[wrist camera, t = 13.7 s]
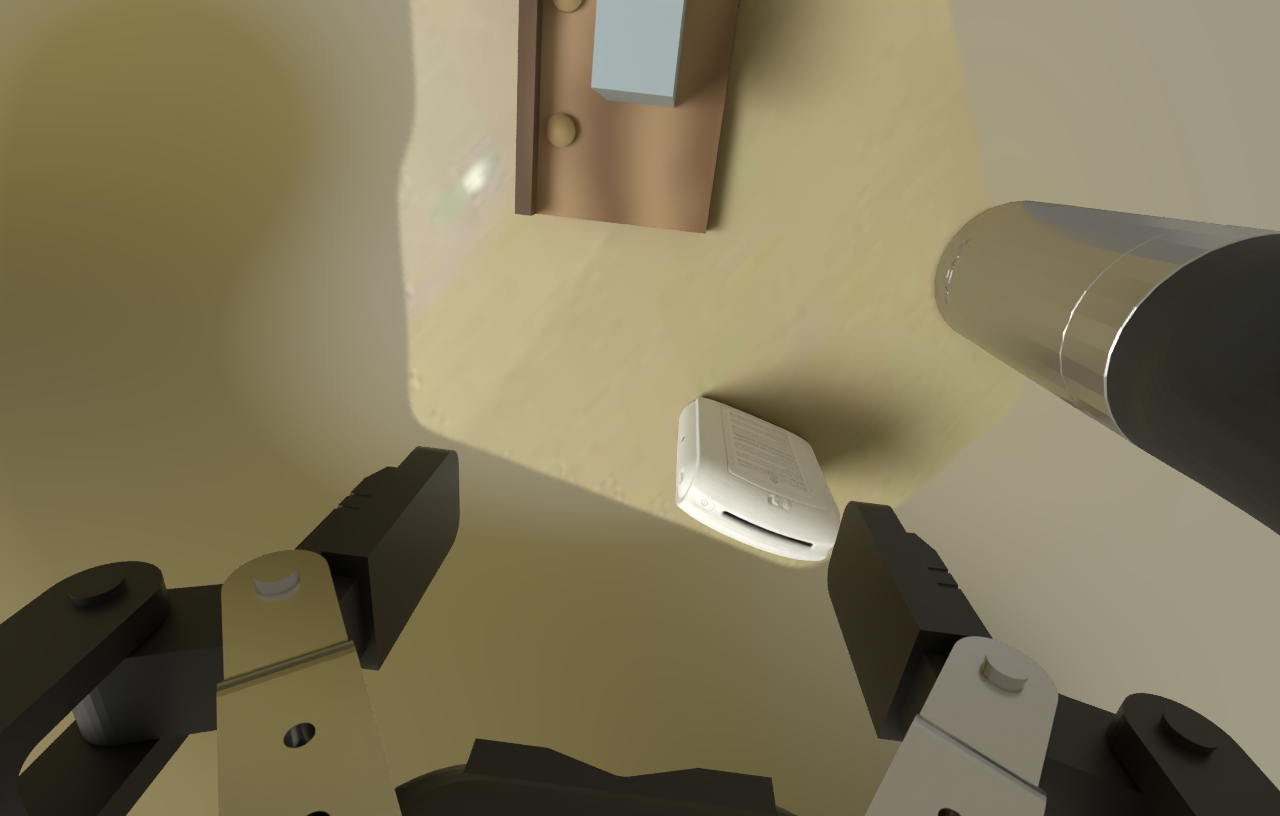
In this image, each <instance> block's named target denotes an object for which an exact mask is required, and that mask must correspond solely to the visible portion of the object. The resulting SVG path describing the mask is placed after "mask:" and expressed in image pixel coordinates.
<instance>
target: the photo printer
mask: <svg viewBox="0 0 1280 816" xmlns="http://www.w3.org/2000/svg"><path fill="white" fill-rule="evenodd" d="M676 503H677V505H678V506H679V507H680V508H681V509H682V510H683V511H685V512H686V513H687V514H689V515H690V516H692V517H693V518H695V519H696V520H698V521H700V522H701V523H703V524H705V525H707V526H709V527H710V528H712V529H714V530H716V531H718V532H720V533H722V534H725V535H727V536H729V537H731V538H733V539H736V540H738V541H740V542H743V543H745V544H748V545H750V546H753V547H755V548H758V549H761V550H764V551H767V552H770V553H773V554H777V555H780V556H784V557H789V558H793V559H798V560H807V561H819V560H822V559H824V558H826V556H827V554H828V552H829V550H830V548H831V547H832V546H833V545H835V541H836V538H837V534H838V531H839V527H840V514H839V510H838V508H837V506H836V503H835V501H834V499H833V496H832V494H831V492H830V489H829V487H828V485H827V482H826V480H825V478H824V475H823V473H822V471H821V468H820V466H819V464H818V461H817V459H816V457H815V454H814V452H813V449H812V447H811V446H810V444H809V443H808V442H806V441H805V440H803V439H802V438H800V437H799V436H797V435H795V434H793V433H791V432H789V431H787V430H785V429H782V428H780V427H778V426H776V425H773V424H771V423H769V422H767V421H764V420H762V419H759V418H757V417H755V416H752V415H750V414H748V413H745V412H743V411H740V410H738V409H735V408H733V407H731V406H728V405H725V404H723V403H720V402H717V401H714V400H711V399H707V398H703V397H698V398H697V400H695V401H693V402H691V403H690V404H688V405H687V406H686V407H685V408H684V410H683V411H682V413H681V416H680V420H679V436H678V449H677V479H676Z"/></svg>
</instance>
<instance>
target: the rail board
mask: <svg viewBox="0 0 1280 816" xmlns="http://www.w3.org/2000/svg"><path fill="white" fill-rule="evenodd" d="M596 5H597V0H519V32H518V83H517V135H516V186H515V214H522V215H530V216H531V215H534V214H544V215H552V216H561V217H569V218H578V219H586V220H595V221H603V222H612V223H620V224H629V225H638V226H646V227H655V228H663V229H672V230H680V231H689V232H697V233H706V228H707V221H708V214H709V207H710V201H711V194H712V187H713V180H714V173H715V166H716V159H717V152H718V145H719V138H720V132H721V125H722V118H723V111H724V104H725V97H726V90H727V83H728V76H729V69H730V62H731V56H732V49H733V42H734V35H735V28H736V21H737V14H738V7H739V0H687V3H686V12H685V20H684V29H683V37H682V46H681V55H680V63H679V72H678V80H677V89H676V98H675V106H674V108H670V107H662V106H653V105H644V104H636V103H627V102H618V101H610V100H607V99H605V98H604V97H603V96H602V95H600V94H599V93H598V92H596V91H595V90H594V89H593V88H591V82H592V67H593V51H594V36H595V21H596Z"/></svg>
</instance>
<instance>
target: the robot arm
mask: <svg viewBox="0 0 1280 816" xmlns="http://www.w3.org/2000/svg"><path fill="white" fill-rule="evenodd" d="M935 297H936V301H937V305H938V309H939V311H940V313H941V314H942V316H943V318H944V320H945V321H946V322H947V323H948V324H949V325H950V326H951V327H952V328H953V330H955V331H956V332H958V333H959V334H961V335H962V336H964V337H966V338H967V339H969V340H970V341H972V342H973V343H975V344H976V345H978V346H979V347H981V348H982V349H984V350H985V351H987V352H988V353H990V354H991V355H993V356H995V357H996V358H998V359H999V360H1001V361H1002V362H1004V363H1006V364H1007V365H1009V366H1010V367H1012V368H1014V369H1015V370H1017V371H1018V372H1020V373H1021V374H1023V375H1025V376H1026V377H1028V378H1029V379H1031V380H1032V381H1034V382H1036V383H1037V384H1039V385H1040V386H1042V387H1043V388H1045V389H1047V390H1048V391H1050V392H1052V393H1053V394H1055V395H1056V396H1058V397H1059V398H1061V399H1062V400H1064V401H1066V402H1067V403H1069V404H1070V405H1072V406H1073V407H1075V408H1077V409H1078V410H1080V411H1081V412H1083V413H1085V414H1086V415H1088V416H1090V417H1091V418H1093V419H1095V420H1096V421H1098V422H1099V423H1101V424H1102V425H1104V426H1106V427H1107V428H1109V429H1110V430H1112V431H1114V432H1115V433H1117V434H1118V435H1120V436H1121V437H1123V438H1125V439H1126V440H1128V441H1130V442H1131V443H1133V444H1134V445H1136V446H1138V447H1139V448H1141V449H1143V450H1144V451H1146V452H1147V453H1149V454H1151V455H1152V456H1154V457H1156V458H1157V459H1159V460H1161V461H1162V462H1164V463H1166V464H1167V465H1169V466H1171V467H1172V468H1174V469H1176V470H1177V471H1179V472H1181V473H1183V474H1184V475H1186V476H1188V477H1189V478H1191V479H1193V480H1195V481H1197V482H1198V483H1200V484H1201V485H1203V486H1205V487H1206V488H1208V489H1210V490H1211V491H1213V492H1214V493H1216V494H1218V495H1219V496H1221V497H1222V498H1224V499H1226V500H1227V501H1229V502H1230V503H1232V504H1234V505H1235V506H1237V507H1238V508H1240V509H1241V510H1243V511H1245V512H1246V513H1248V514H1249V515H1251V516H1252V517H1254V518H1255V519H1257V520H1258V521H1260V522H1261V523H1263V524H1264V525H1266V526H1267V527H1269V528H1270V529H1271V530H1273V531H1274V532H1276V533H1277V534H1279V535H1280V231H1273V230H1265V229H1257V228H1249V227H1241V226H1232V225H1221V224H1213V223H1205V222H1197V221H1188V220H1180V219H1172V218H1164V217H1156V216H1147V215H1140V214H1132V213H1124V212H1116V211H1107V210H1099V209H1091V208H1083V207H1076V206H1069V205H1061V204H1052V203H1043V202H1034V201H1018V202H1010V203H1007V204H1003V205H999V206H996V207H993V208H991V209H989V210H987V211H986V212H984V213H982V214H980V215H978V216H977V217H975V218H974V219H973V220H971V221H970V222H969V223H967V224H966V225H965V226H964V227H963V228H962V229H961V230H960V231H959V232H958V233H957V234H956V235H955V236H954V237H953V239H952V240H951V242H950V243H949V245H948V246H947V248H946V249H945V251H944V253H943V255H942V258H941V260H940V262H939V265H938V268H937V273H936V278H935ZM459 508H460V507H459V462H458V455H457V453H456V452H455V451H454V450H446V449H437V448H430V447H422V446H418V447H416V448H415V449H414V450H413V451H412V452H411V453H410V454H409V455H408V457H407V458H406V459H405V460H404V461H403V462H402V463H401V464H400V465H399V466H398V467H397V468H396V467H386V468H384V469H382V470H380V471H378V472H376V473H374V474H372V475H370V476H368V477H366V478H364V479H363V481H361V483H360V484H359V485H358V486H357V487H356V488H355V489H354V490H353V491H352V492H351V493H350V496H347V497H346V498H345V499H344V500H343V501H342V502H341V503H340V504H339V505H338V508H337V509H334V510H333V511H332V512H331V513H330V514H329V515H328V516H327V517H326V518H325V519H324V520H323V521H322V522H321V523H320V524H319V525H318V526H317V527H316V528H315V529H314V530H313V531H312V532H311V533H310V534H309V535H308V536H307V537H306V538H305V539H304V540H303V541H302V542H301V543H300V544H299V545H298V546H297V547H296V548H295V549H294V550H282V551H276V552H272V553H268V554H264V555H262V556H259V557H257V558H254V559H252V560H250V561H248V562H246V563H244V564H243V565H241V566H239V567H238V568H237V569H235V570H234V571H233V572H232V573H231V574H230V575H229V576H228V577H227V579H226V580H225V581H224V583H223V584H218V585H207V586H197V587H186V588H177V589H176V588H175V589H166V586H165V582H164V579H163V575H162V572H161V570H160V569H159V568H158V567H156V566H154V565H153V564H149V563H145V562H139V561H127V562H116V563H110V564H105V565H101V566H97V567H94V568H90V569H87V570H85V571H82V572H79V573H77V574H74V575H72V576H70V577H68V578H66V579H64V580H62V581H60V582H59V583H57V584H55V585H54V586H52V587H51V588H49V589H48V590H47V591H45V592H44V593H42V594H41V595H40V596H38V597H37V598H36V599H34V600H33V601H32V602H30V603H29V604H28V605H26V606H25V607H23V608H22V609H21V610H19V611H18V612H17V613H15V614H14V615H12V616H11V617H10V618H8V619H7V620H6V621H4V622H3V623H2V624H0V816H126V815H127V813H128V812H129V811H130V810H131V808H132V807H133V806H134V805H135V803H136V802H137V801H138V799H139V798H140V797H141V796H142V794H143V793H144V792H145V790H146V789H147V788H148V787H149V785H150V784H151V783H152V782H153V780H154V779H155V778H156V776H157V775H158V774H159V773H160V771H161V770H162V769H163V767H164V766H165V765H166V763H167V762H168V761H169V760H170V758H171V757H172V756H173V754H174V753H175V752H176V751H177V749H178V748H179V747H180V746H181V744H182V743H183V742H184V741H185V739H186V738H187V737H188V735H189V734H194V733H200V732H207V731H213V730H217V747H218V748H217V751H218V798H219V799H218V800H219V801H218V802H219V816H797V815H795V814H793V813H791V812H789V811H787V810H785V809H783V808H781V807H778V806H776V805H775V799H774V792H773V785H772V778H770V777H762V776H754V775H747V774H739V773H731V772H724V771H717V770H709V769H702V768H695V769H687V770H679V771H671V772H663V773H655V774H647V775H639V776H631V777H621V776H616V775H613V774H611V773H608V772H606V771H603V770H601V769H598V768H596V767H594V766H591V765H588V764H586V763H584V762H581V761H579V760H576V759H574V758H571V757H569V756H566V755H564V754H562V753H559V752H557V751H554V750H552V749H549V748H544V747H536V746H529V745H521V744H514V743H506V742H499V741H491V740H484V739H476V740H475V742H474V745H473V748H472V751H471V754H470V757H469V760H468V762H467V764H461V765H455V766H450V767H446V768H442V769H438V770H435V771H432V772H429V773H427V774H424V775H421V776H418V777H416V778H414V779H412V780H410V781H408V782H406V783H404V784H402V785H400V786H398V787H396V788H395V789H394V785H393V782H392V778H391V774H390V771H389V767H388V763H387V760H386V756H385V752H384V749H383V745H382V742H381V738H380V734H379V731H378V727H377V724H376V720H375V717H374V713H373V710H372V705H371V702H370V698H369V695H368V691H367V687H366V684H365V680H364V677H363V673H362V669H361V668H363V669H371V670H379V669H380V667H381V666H382V664H383V662H384V661H385V659H386V657H387V656H388V654H389V652H390V651H391V649H392V647H393V646H394V644H395V642H396V640H397V639H398V637H399V635H400V633H401V632H402V630H403V629H404V627H405V625H406V623H407V622H408V620H409V618H410V617H411V615H412V613H413V612H414V610H415V608H416V607H417V605H418V603H419V601H420V600H421V598H422V596H423V595H424V593H425V591H426V590H427V588H428V586H429V584H430V583H431V581H432V579H433V578H434V576H435V574H436V572H437V571H438V569H439V568H440V566H441V564H442V562H443V561H444V559H445V557H446V556H447V554H448V552H449V551H450V549H451V547H452V545H453V543H454V541H455V538H456V535H457V531H458V526H459V517H460V511H459V510H460V509H459ZM827 581H828V591H829V595H830V598H831V601H832V604H833V607H834V610H835V613H836V616H837V619H838V622H839V625H840V628H841V630H842V633H843V637H844V640H845V643H846V645H847V648H848V651H849V654H850V657H851V660H852V663H853V666H854V669H855V672H856V675H857V678H858V681H859V684H860V687H861V690H862V693H863V696H864V698H865V702H866V704H867V707H868V710H869V713H870V716H871V719H872V722H873V725H874V728H875V731H876V734H877V737H878V738H880V739H888V740H895V741H903V742H902V744H901V746H900V748H899V750H898V752H897V754H896V756H895V758H894V760H893V761H892V764H891V765H890V767H889V769H888V771H887V773H886V775H885V777H884V779H883V781H882V783H881V785H880V787H879V789H878V791H877V793H876V795H875V797H874V799H873V801H872V803H871V805H870V807H869V809H868V811H867V813H866V815H865V816H1280V791H1279V790H1278V789H1277V788H1276V786H1274V784H1273V783H1272V782H1271V781H1270V780H1269V779H1268V777H1267V776H1266V775H1265V774H1264V773H1263V772H1262V771H1261V770H1260V768H1259V767H1258V766H1257V765H1256V764H1255V763H1254V762H1253V761H1252V759H1251V758H1250V757H1249V756H1248V755H1247V754H1246V753H1245V752H1244V751H1243V749H1242V748H1241V747H1240V746H1239V745H1238V744H1237V743H1236V742H1235V741H1234V740H1233V739H1232V738H1231V737H1230V736H1229V735H1228V734H1226V733H1225V732H1224V731H1223V730H1222V729H1221V728H1219V727H1218V726H1216V725H1215V724H1214V723H1213V722H1211V721H1210V720H1208V719H1207V718H1205V717H1204V716H1202V715H1201V714H1199V713H1197V712H1195V711H1193V710H1192V709H1190V708H1188V707H1186V706H1184V705H1182V704H1180V703H1177V702H1175V701H1173V700H1170V699H1167V698H1164V697H1161V696H1157V695H1153V694H1146V693H1136V694H1132V695H1129V696H1128V697H1127V698H1126V699H1125V700H1124V701H1123V703H1122V705H1121V706H1120V708H1119V710H1118V711H1117V713H1116V714H1114V713H1111V712H1108V711H1106V710H1102V709H1100V708H1097V707H1094V706H1092V705H1089V704H1086V703H1083V702H1080V701H1077V700H1075V699H1072V698H1069V697H1066V696H1064V695H1061V694H1059V693H1058V692H1057V688H1056V686H1055V685H1054V682H1053V681H1052V679H1051V678H1050V676H1049V675H1048V674H1047V673H1046V672H1045V671H1044V669H1042V668H1041V666H1039V665H1038V664H1037V663H1036V662H1035V661H1034V660H1032V659H1031V658H1030V657H1028V656H1027V655H1025V654H1024V653H1022V652H1021V651H1019V650H1017V649H1015V648H1014V647H1011V646H1009V645H1007V644H1005V643H1003V642H1000V641H997V640H994V639H992V637H991V636H990V634H989V632H988V631H987V629H986V628H985V626H984V625H983V623H982V621H981V620H980V619H979V617H978V615H977V614H976V612H975V611H974V609H973V608H972V606H971V605H970V603H969V601H968V600H967V598H966V597H965V595H964V594H963V592H962V591H961V589H958V584H957V583H956V581H955V580H954V578H953V577H952V575H951V574H950V573H948V569H947V568H946V566H945V565H944V563H943V561H942V560H941V558H940V557H939V555H938V554H937V552H936V551H935V550H934V549H933V548H931V547H930V546H929V545H928V544H927V543H926V542H924V541H923V540H922V539H921V538H919V537H918V536H917V535H916V534H915V533H907V532H906V531H905V529H904V528H903V526H902V524H901V523H900V521H899V519H898V518H897V516H896V515H895V513H894V511H893V509H892V508H891V507H890V506H888V505H880V504H872V503H864V502H856V501H850V502H849V503H848V504H847V506H846V508H845V510H844V513H843V517H842V520H841V524H840V527H839V531H838V534H837V538H836V541H835V545H834V548H833V551H832V555H831V558H830V562H829V567H828V580H827ZM70 711H72V712H73V714H74V717H75V719H76V720H75V721H74V722H73V723H72V724H71V725H70V726H69V727H68V728H67V729H66V730H65V731H64V732H63V733H62V734H61V735H60V736H59V737H58V738H57V739H56V740H55V741H54V742H53V743H52V744H51V745H50V746H49V747H48V748H47V749H46V750H45V751H44V752H43V753H42V754H41V755H40V756H39V757H38V758H37V759H36V760H35V761H34V762H33V763H32V764H31V765H30V766H29V767H28V768H27V769H26V770H25V771H24V772H23V773H22V774H21V775H20V776H19V773H20V770H21V768H22V765H23V763H24V761H25V760H26V758H27V757H28V755H29V754H30V752H31V751H32V750H33V748H34V747H35V746H36V745H37V744H38V743H39V742H40V741H41V740H42V739H43V738H44V737H45V736H46V735H47V734H48V733H49V732H50V731H51V730H52V729H53V728H54V727H55V726H56V725H57V724H58V723H59V722H60V721H61V720H63V719H64V717H66V716H67V715H68V714H69V713H70ZM18 776H19V777H18Z"/></svg>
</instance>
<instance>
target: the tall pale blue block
mask: <svg viewBox="0 0 1280 816" xmlns="http://www.w3.org/2000/svg"><path fill="white" fill-rule="evenodd" d="M686 3H687V0H597V5H596V21H595V36H594V51H593V67H592V82H591V88H593V89H594V90H595V91H596V92H598V93H599V94H600V95H602V96H603V97H604V98H605V99H607V100H610V101H618V102H627V103H636V104H644V105H653V106H662V107H670V108H674V106H675V98H676V89H677V80H678V72H679V63H680V55H681V46H682V37H683V29H684V20H685V12H686Z"/></svg>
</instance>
